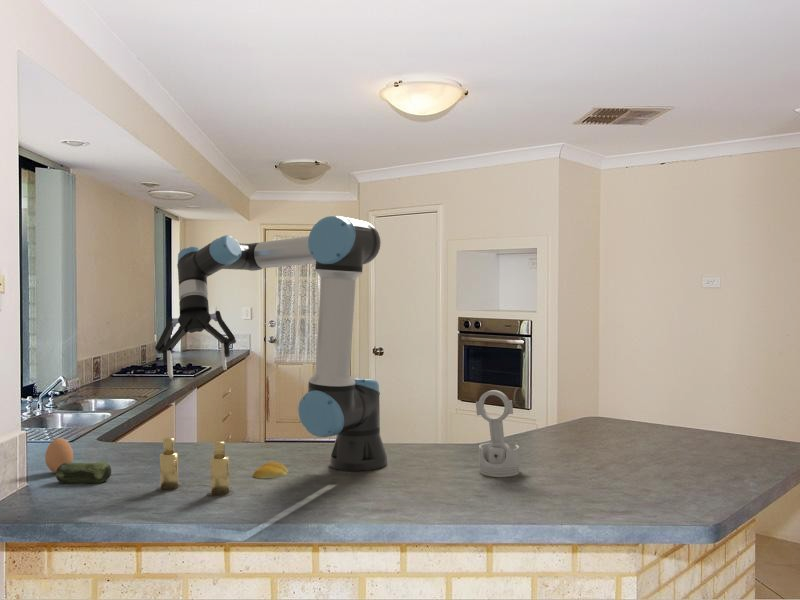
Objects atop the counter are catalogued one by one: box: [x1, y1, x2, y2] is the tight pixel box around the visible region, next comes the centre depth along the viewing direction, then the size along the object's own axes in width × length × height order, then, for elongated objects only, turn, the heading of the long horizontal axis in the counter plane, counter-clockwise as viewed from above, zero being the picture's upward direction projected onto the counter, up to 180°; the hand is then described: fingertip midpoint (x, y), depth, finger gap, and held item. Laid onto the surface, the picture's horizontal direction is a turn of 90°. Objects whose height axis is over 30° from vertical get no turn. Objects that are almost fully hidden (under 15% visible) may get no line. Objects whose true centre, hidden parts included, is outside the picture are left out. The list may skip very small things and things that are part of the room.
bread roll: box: [252, 461, 289, 480], centre depth 170 cm, size 8×9×4 cm
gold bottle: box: [209, 440, 231, 496], centre depth 154 cm, size 4×4×12 cm
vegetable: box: [55, 461, 112, 484], centre depth 172 cm, size 14×5×5 cm, turn 89°
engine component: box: [475, 389, 520, 478], centre depth 173 cm, size 11×20×10 cm
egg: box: [44, 437, 74, 474], centre depth 181 cm, size 7×7×9 cm
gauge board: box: [155, 482, 235, 498], centre depth 156 cm, size 24×12×1 cm, turn 69°
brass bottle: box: [159, 437, 180, 491], centre depth 159 cm, size 4×4×12 cm
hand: (197, 372), depth 176 cm, fingers open, 13 cm apart
